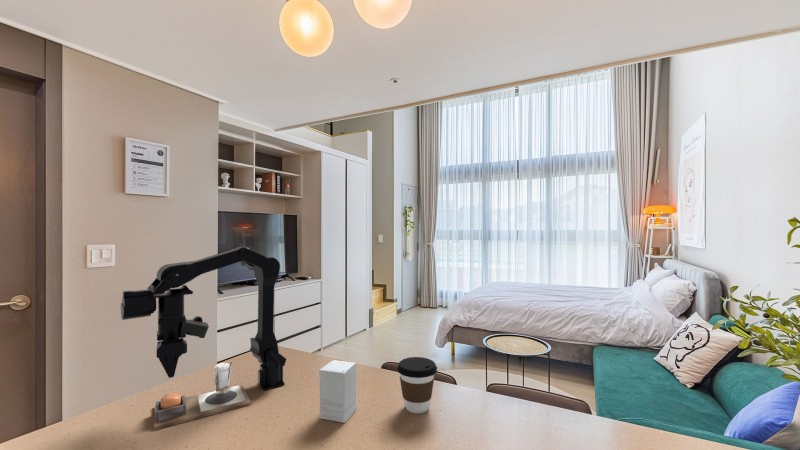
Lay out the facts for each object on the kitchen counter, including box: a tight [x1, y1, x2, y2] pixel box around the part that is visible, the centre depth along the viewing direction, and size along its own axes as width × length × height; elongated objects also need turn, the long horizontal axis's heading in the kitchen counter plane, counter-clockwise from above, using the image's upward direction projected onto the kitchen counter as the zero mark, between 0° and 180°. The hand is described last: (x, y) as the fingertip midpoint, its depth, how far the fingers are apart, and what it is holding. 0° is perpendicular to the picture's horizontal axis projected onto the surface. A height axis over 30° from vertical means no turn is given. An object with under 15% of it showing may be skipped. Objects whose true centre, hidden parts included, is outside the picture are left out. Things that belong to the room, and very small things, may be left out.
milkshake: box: [212, 361, 233, 399], centre depth 101 cm, size 5×5×10 cm
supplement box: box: [318, 359, 358, 424], centre depth 93 cm, size 7×7×13 cm
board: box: [153, 384, 252, 431], centre depth 97 cm, size 22×13×3 cm, turn 124°
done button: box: [160, 392, 182, 410], centre depth 92 cm, size 4×4×3 cm
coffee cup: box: [396, 356, 438, 414], centre depth 96 cm, size 11×11×12 cm
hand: (171, 373), depth 92 cm, fingers open, 6 cm apart
